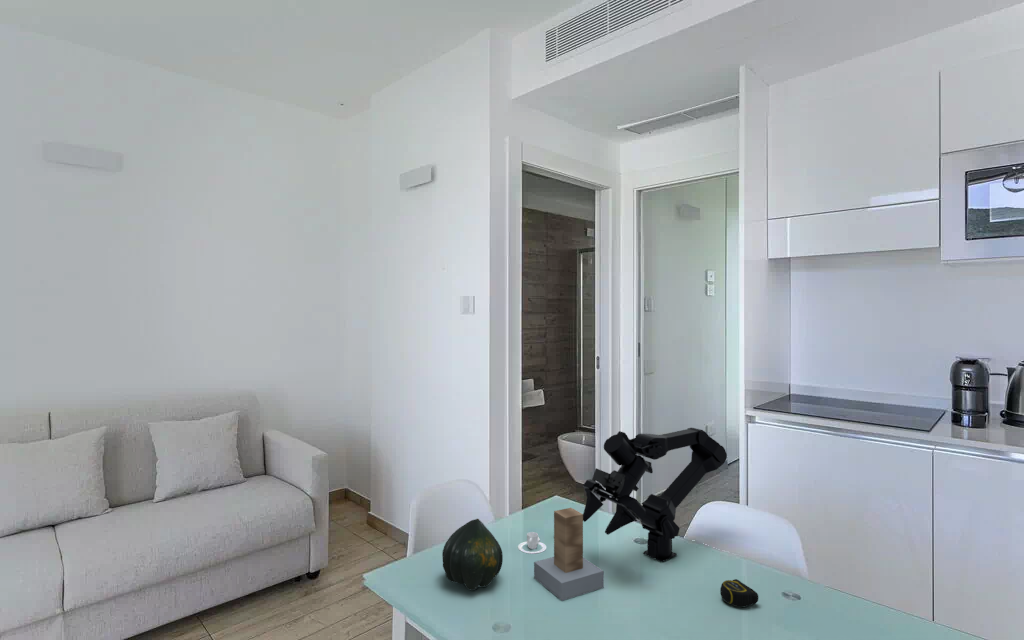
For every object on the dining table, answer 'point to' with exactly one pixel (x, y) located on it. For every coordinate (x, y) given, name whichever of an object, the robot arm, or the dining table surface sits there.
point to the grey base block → (568, 578)
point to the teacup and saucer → (532, 543)
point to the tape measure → (738, 593)
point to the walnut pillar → (568, 539)
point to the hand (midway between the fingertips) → (594, 526)
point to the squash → (472, 556)
